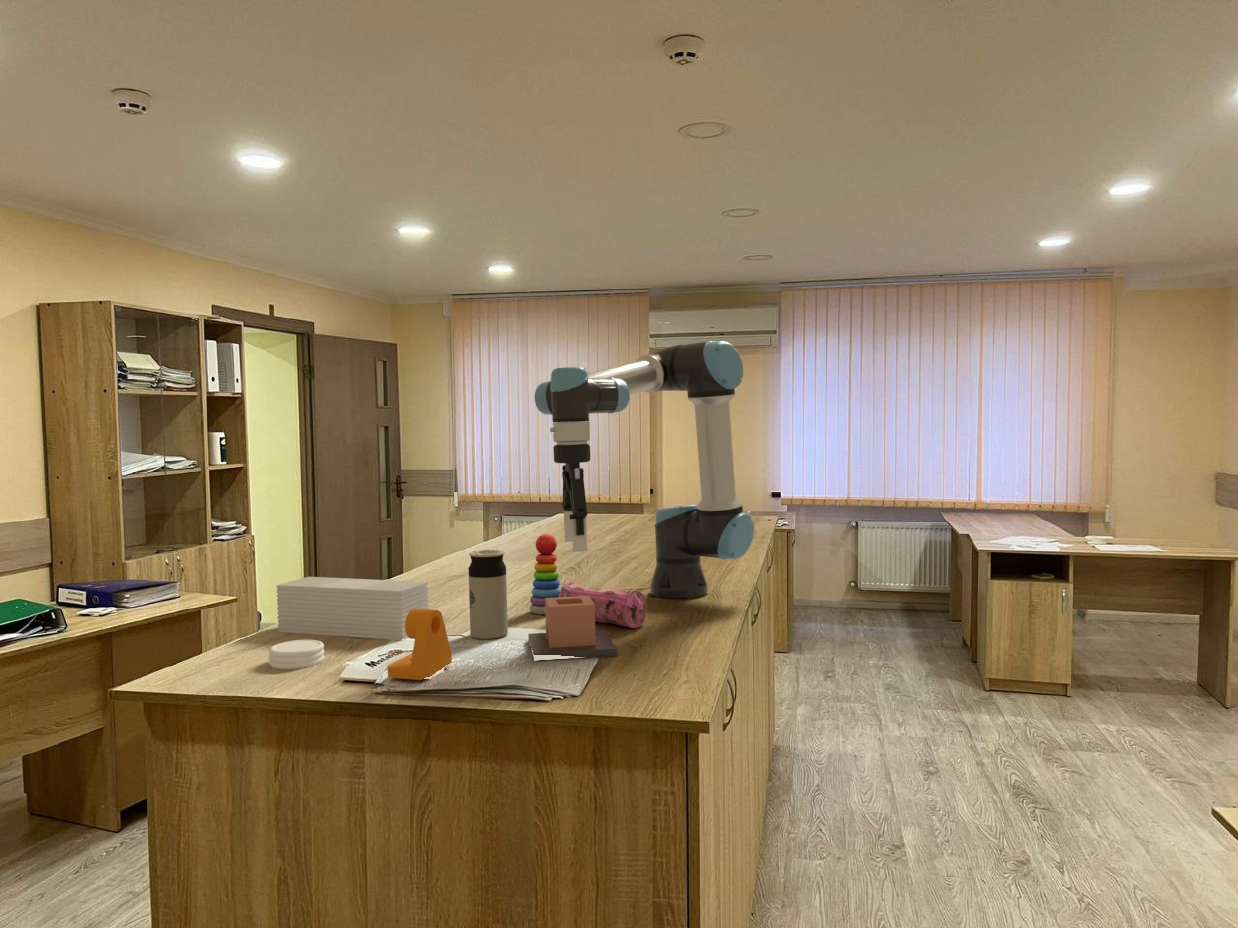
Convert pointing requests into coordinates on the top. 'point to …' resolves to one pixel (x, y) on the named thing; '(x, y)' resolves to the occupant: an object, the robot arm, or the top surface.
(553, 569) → the stacking toy
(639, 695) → the top surface
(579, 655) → the post plate
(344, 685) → the top surface
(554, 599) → the hollow square tube
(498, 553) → the travel mug
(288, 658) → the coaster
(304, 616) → the stack of papers
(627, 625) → the pencil case
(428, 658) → the bracket
